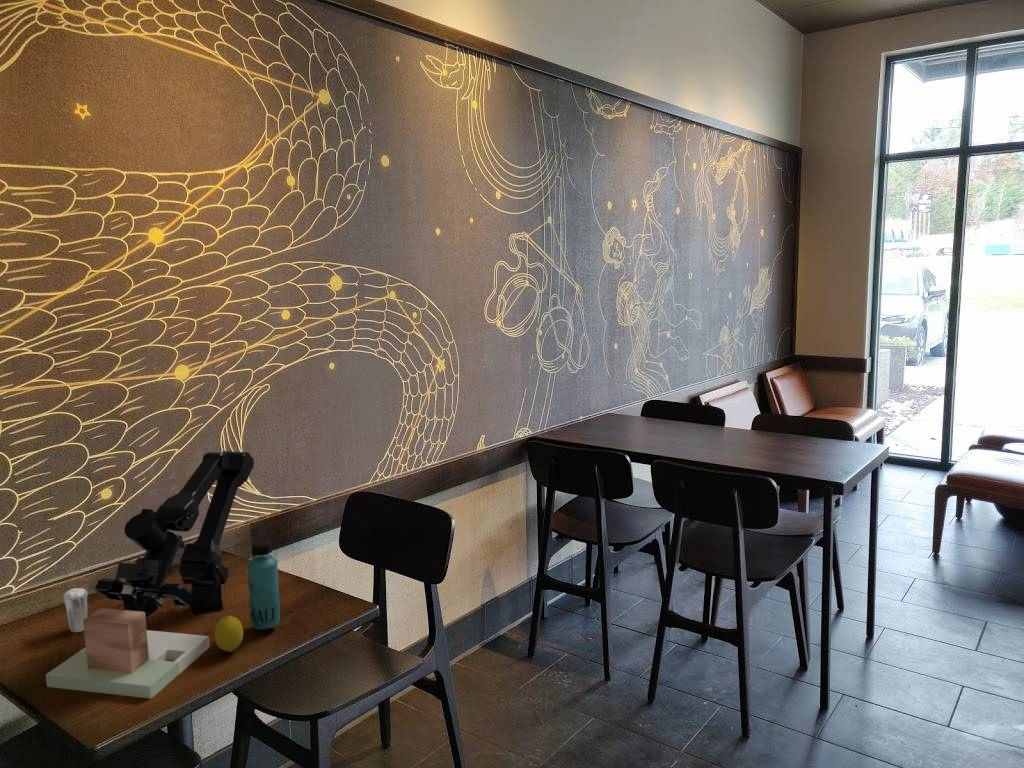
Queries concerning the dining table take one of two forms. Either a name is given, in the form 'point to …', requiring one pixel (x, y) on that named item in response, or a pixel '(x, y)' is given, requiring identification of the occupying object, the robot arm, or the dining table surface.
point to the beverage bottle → (263, 587)
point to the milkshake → (76, 608)
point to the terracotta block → (116, 640)
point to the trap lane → (145, 682)
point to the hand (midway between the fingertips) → (126, 634)
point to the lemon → (228, 633)
